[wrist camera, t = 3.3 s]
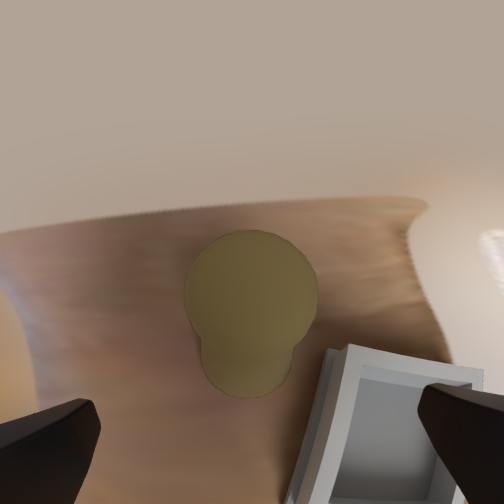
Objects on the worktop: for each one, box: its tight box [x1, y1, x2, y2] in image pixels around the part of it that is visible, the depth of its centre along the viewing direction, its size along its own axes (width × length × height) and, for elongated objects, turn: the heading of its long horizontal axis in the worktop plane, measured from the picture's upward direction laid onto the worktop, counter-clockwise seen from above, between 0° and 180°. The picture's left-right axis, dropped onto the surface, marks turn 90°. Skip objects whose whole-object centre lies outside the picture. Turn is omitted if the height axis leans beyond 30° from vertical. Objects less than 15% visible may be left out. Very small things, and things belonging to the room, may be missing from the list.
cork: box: [185, 230, 319, 399], centre depth 16 cm, size 6×6×11 cm
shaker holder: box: [283, 344, 484, 504], centre depth 15 cm, size 11×11×4 cm
